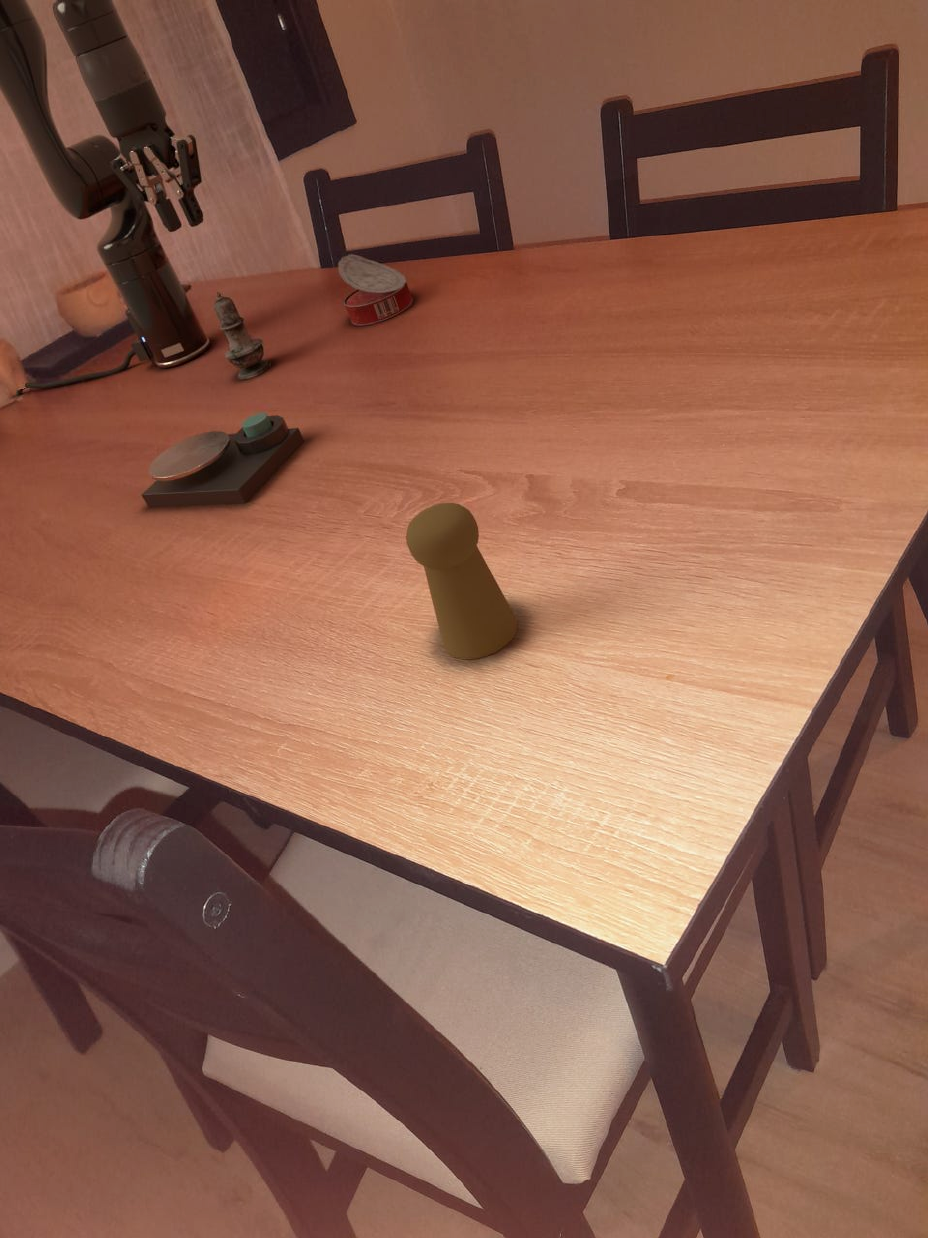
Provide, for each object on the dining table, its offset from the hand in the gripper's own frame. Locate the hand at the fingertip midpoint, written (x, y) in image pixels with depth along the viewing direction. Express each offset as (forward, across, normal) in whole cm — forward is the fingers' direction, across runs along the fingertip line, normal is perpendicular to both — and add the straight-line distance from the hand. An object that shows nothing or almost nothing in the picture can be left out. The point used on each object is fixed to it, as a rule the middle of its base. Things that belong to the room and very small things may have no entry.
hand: (186, 226), depth 127 cm
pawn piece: (+21, -61, +55) cm, 85 cm away
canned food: (+21, -14, -16) cm, 30 cm away
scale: (+21, -16, +29) cm, 39 cm away
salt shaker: (+21, 0, 0) cm, 21 cm away
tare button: (+18, -20, +25) cm, 37 cm away
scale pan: (+18, -14, +30) cm, 38 cm away
